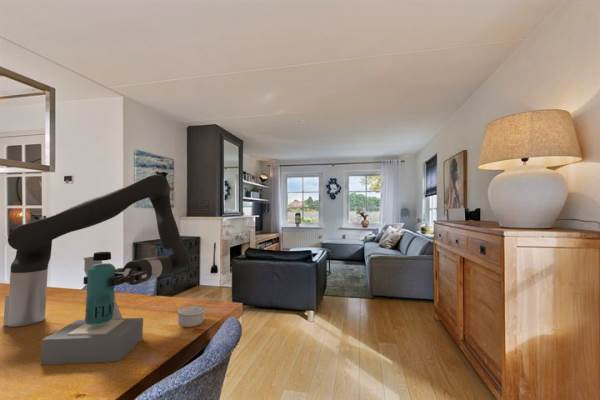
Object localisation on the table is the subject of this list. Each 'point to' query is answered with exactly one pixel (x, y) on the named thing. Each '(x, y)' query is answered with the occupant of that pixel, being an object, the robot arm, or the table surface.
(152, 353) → the table surface
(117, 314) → the flask
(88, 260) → the chalice
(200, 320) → the ramekin
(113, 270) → the beverage bottle
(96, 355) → the stand
